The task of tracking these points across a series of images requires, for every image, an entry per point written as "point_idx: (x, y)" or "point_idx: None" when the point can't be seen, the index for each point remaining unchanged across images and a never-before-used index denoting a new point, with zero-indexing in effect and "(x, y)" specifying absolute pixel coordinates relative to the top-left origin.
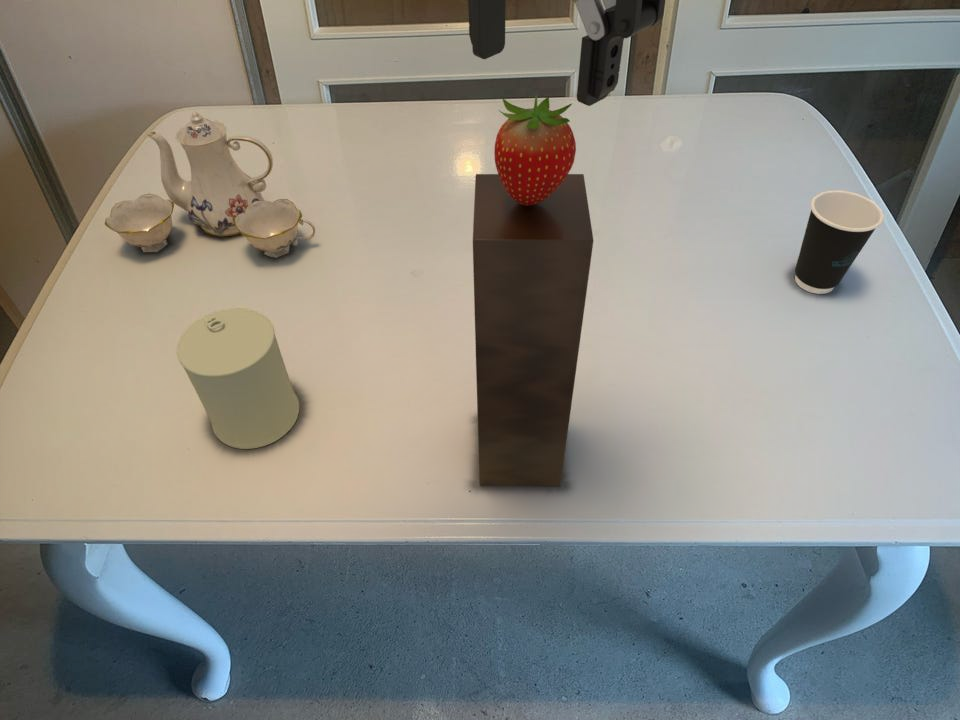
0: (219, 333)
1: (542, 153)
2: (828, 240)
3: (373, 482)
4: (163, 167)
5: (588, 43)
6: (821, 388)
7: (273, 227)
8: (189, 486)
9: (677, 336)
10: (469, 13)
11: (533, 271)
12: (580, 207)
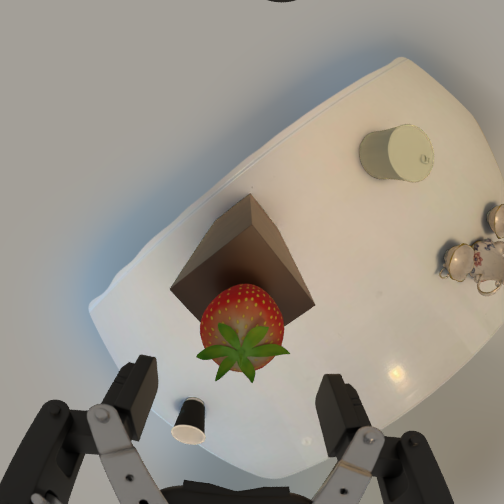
0: (418, 155)
1: (210, 315)
2: (187, 419)
3: (298, 158)
4: None
5: (119, 402)
6: (154, 349)
7: (458, 264)
8: (369, 104)
9: None
10: (362, 409)
11: (211, 249)
12: None
